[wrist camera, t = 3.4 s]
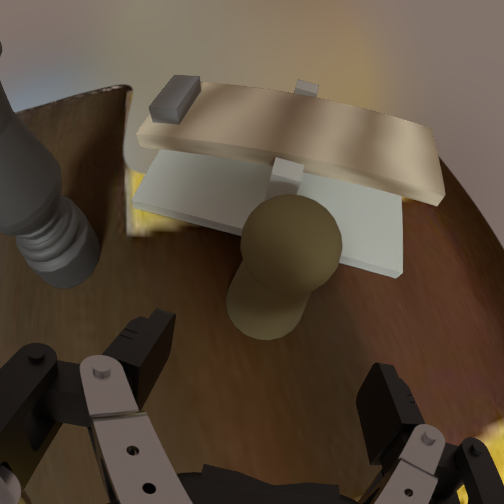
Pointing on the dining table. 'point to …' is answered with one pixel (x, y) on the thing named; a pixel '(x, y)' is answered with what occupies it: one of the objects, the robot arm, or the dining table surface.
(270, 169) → the beam stand
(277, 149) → the beam
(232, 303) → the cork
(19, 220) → the candle holder
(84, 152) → the dining table surface
